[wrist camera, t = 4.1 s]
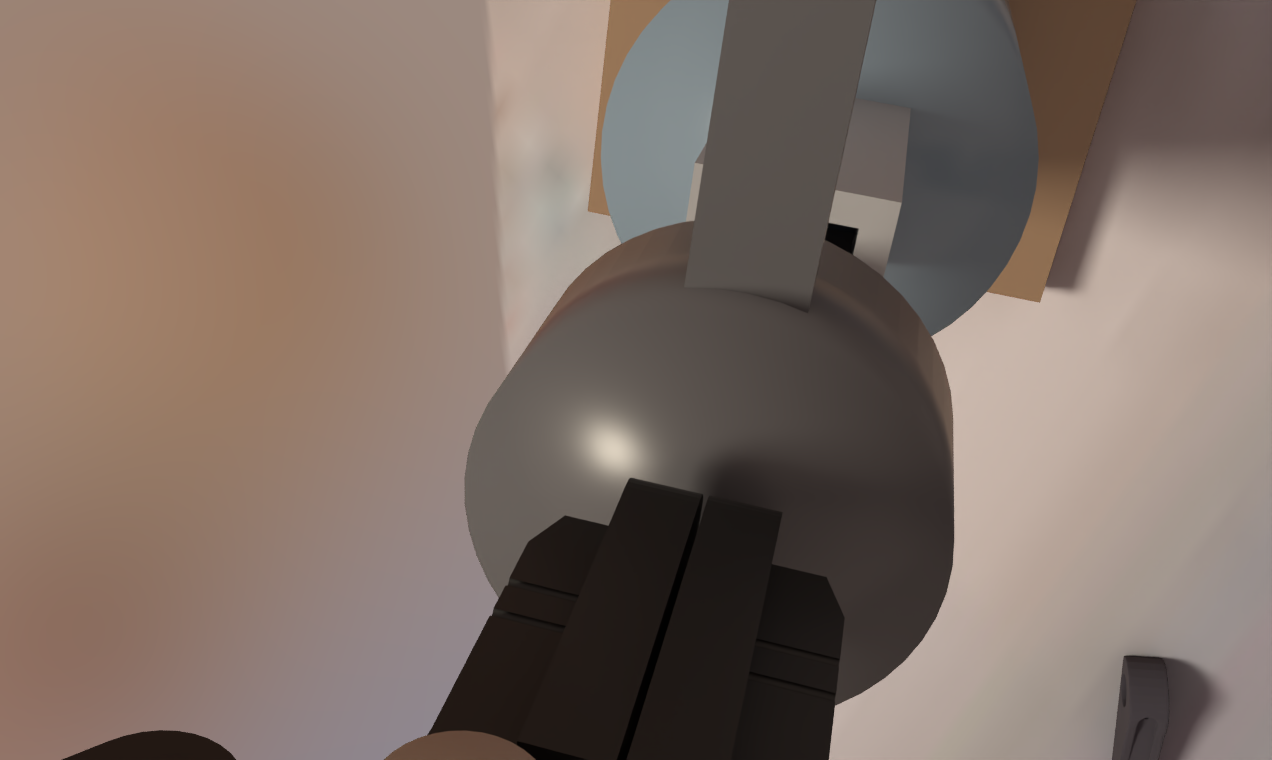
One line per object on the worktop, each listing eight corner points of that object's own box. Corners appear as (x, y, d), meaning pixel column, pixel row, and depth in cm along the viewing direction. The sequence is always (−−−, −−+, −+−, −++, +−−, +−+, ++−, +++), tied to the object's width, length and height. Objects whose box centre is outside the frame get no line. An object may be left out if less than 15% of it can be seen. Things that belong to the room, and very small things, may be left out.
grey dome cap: (1061, -124, 15) (1143, -23, 9) (908, 431, 19) (889, 771, 13) (678, -184, 16) (502, -129, 10) (609, 366, 20) (453, 659, 14)
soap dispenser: (1197, -219, 30) (1501, -160, 14) (1037, 286, 37) (1110, 732, 20) (652, -296, 32) (338, -327, 15) (597, 198, 39) (339, 542, 22)
